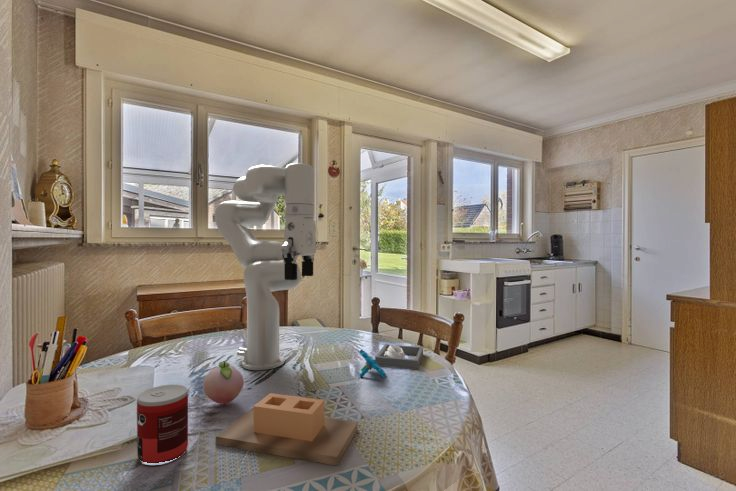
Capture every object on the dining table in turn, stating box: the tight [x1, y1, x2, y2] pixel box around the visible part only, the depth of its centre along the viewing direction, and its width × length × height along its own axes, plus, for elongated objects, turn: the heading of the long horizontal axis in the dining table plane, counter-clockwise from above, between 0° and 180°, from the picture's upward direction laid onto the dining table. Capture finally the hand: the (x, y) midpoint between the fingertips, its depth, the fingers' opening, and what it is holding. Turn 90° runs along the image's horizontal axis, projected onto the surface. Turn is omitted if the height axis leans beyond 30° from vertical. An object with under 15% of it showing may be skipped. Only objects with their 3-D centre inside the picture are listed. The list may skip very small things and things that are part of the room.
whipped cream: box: [383, 344, 406, 358], centre depth 115 cm, size 8×7×5 cm
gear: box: [358, 349, 387, 378], centre depth 101 cm, size 11×6×10 cm
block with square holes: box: [253, 392, 325, 441], centre depth 70 cm, size 12×6×5 cm, turn 75°
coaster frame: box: [374, 343, 424, 370], centre depth 114 cm, size 13×14×2 cm
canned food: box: [136, 384, 189, 463], centre depth 64 cm, size 8×8×11 cm
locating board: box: [215, 406, 359, 467], centre depth 69 cm, size 24×12×5 cm, turn 75°
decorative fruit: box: [202, 361, 245, 405], centre depth 83 cm, size 9×8×10 cm
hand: (299, 277), depth 94 cm, fingers open, 9 cm apart
